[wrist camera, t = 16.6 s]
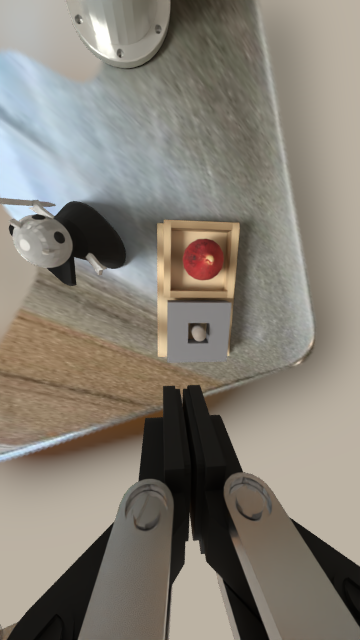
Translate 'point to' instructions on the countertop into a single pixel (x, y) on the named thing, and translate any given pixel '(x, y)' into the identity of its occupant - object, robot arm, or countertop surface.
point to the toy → (66, 238)
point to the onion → (203, 259)
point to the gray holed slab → (198, 312)
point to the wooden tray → (183, 286)
